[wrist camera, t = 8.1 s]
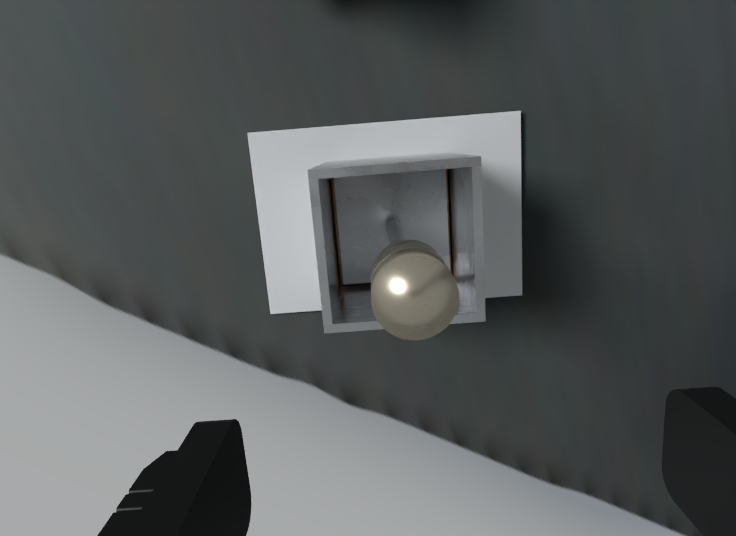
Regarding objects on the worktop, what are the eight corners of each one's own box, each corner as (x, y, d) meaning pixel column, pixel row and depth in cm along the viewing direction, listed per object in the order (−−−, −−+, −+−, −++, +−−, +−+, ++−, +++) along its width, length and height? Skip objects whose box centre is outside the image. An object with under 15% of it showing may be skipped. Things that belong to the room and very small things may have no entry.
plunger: (444, 167, 34) (514, 189, 18) (448, 274, 36) (516, 383, 20) (334, 176, 34) (304, 206, 18) (343, 282, 36) (324, 397, 20)
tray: (518, 111, 38) (520, 110, 38) (520, 293, 42) (522, 295, 41) (249, 133, 39) (247, 132, 38) (271, 311, 42) (270, 314, 41)
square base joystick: (446, 152, 38) (481, 156, 27) (451, 269, 40) (485, 321, 29) (325, 161, 39) (307, 170, 27) (336, 278, 41) (324, 333, 29)
